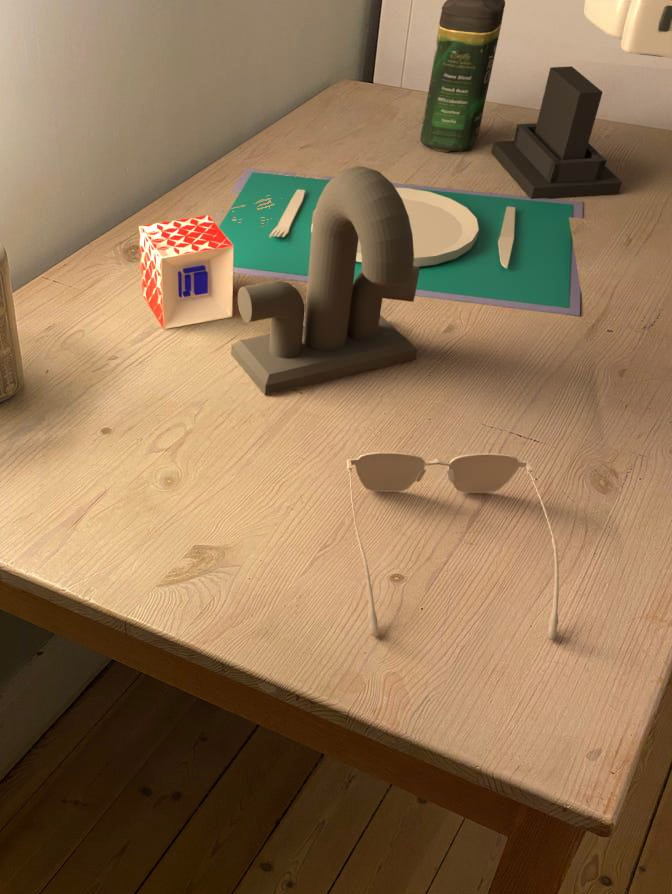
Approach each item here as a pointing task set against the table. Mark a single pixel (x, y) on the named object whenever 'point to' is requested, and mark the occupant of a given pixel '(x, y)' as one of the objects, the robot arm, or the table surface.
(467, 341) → the table surface
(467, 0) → the coffee jar
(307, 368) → the faucet
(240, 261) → the place mat
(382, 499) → the table surface
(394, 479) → the eyeglasses
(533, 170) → the base pad
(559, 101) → the upright pad
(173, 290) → the patterned open box
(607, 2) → the robot arm
